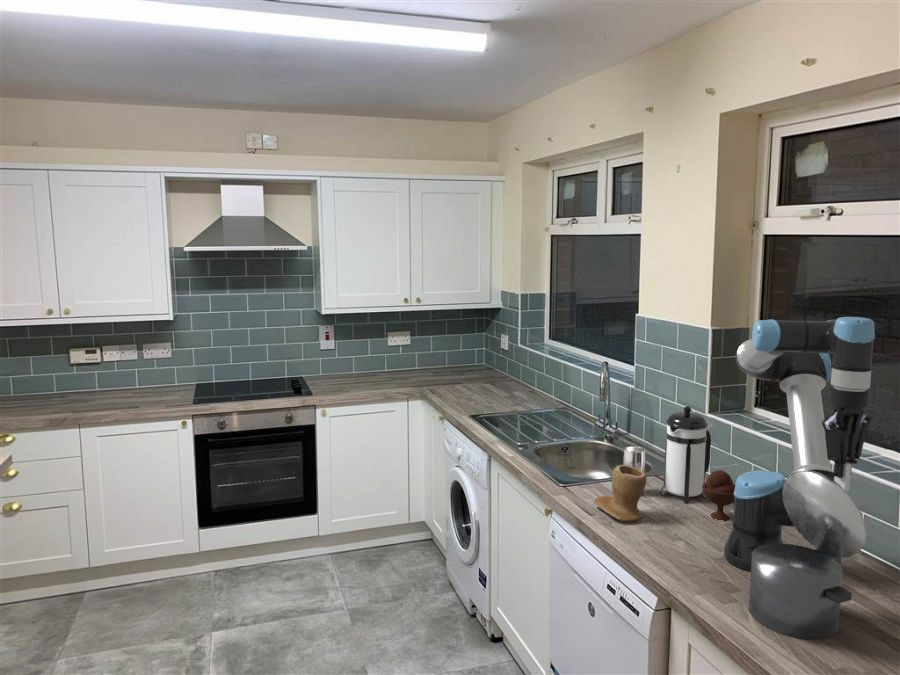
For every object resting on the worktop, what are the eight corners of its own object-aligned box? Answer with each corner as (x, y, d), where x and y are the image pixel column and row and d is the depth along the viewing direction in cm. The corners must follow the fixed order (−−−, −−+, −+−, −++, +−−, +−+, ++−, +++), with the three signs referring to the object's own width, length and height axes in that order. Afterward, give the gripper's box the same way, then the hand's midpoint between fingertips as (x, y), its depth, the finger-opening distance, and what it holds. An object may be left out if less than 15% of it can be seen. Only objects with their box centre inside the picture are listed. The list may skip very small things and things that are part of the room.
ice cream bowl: (743, 525, 201) (746, 476, 199) (704, 523, 203) (706, 475, 201) (734, 511, 212) (737, 464, 209) (697, 509, 213) (699, 463, 211)
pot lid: (788, 535, 164) (796, 530, 165) (866, 573, 146) (875, 567, 147) (777, 461, 159) (786, 456, 160) (857, 490, 141) (866, 484, 142)
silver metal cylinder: (630, 487, 232) (632, 444, 230) (648, 493, 227) (649, 449, 225) (618, 492, 228) (619, 448, 226) (635, 498, 223) (637, 453, 220)
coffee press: (713, 506, 216) (718, 413, 211) (660, 501, 220) (663, 410, 215) (708, 487, 232) (712, 400, 228) (659, 482, 236) (662, 398, 232)
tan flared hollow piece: (652, 520, 205) (654, 472, 203) (618, 526, 201) (620, 477, 199) (624, 502, 219) (625, 457, 217) (591, 507, 216) (593, 461, 213)
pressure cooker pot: (783, 581, 169) (787, 531, 167) (876, 633, 147) (882, 576, 145) (721, 598, 161) (724, 546, 159) (809, 655, 139) (814, 595, 137)
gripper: (854, 381, 156) (846, 480, 160) (813, 387, 152) (805, 488, 155) (886, 388, 150) (876, 491, 153) (844, 394, 145) (835, 500, 148)
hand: (841, 490), depth 154 cm, fingers closed
